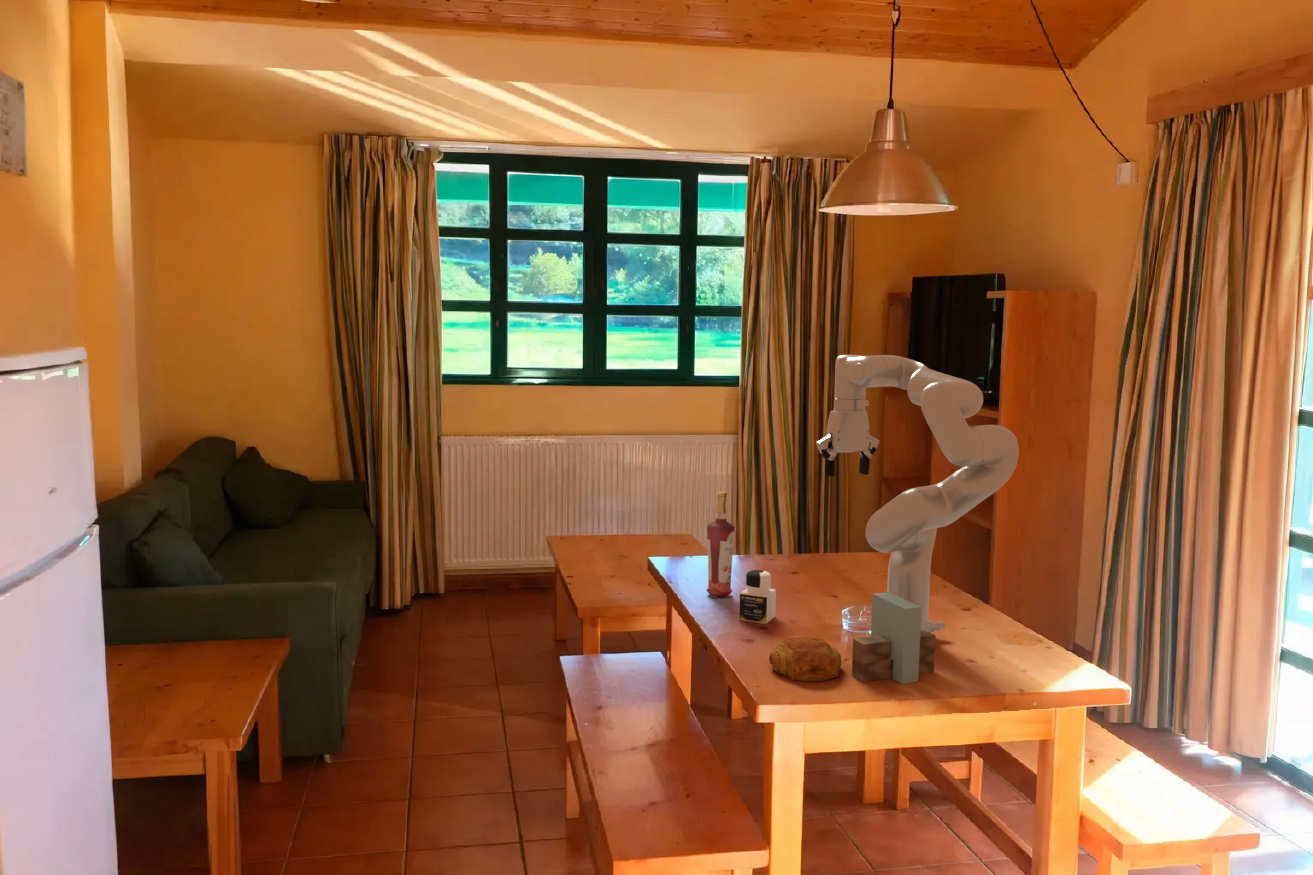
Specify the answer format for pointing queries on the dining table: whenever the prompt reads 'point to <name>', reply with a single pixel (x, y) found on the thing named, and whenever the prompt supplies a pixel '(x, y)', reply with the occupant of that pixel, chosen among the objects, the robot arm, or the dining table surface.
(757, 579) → the medicine bottle
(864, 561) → the dining table surface
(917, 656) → the plain rectangular block
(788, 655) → the croissant
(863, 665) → the mottled brown block
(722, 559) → the liquor
